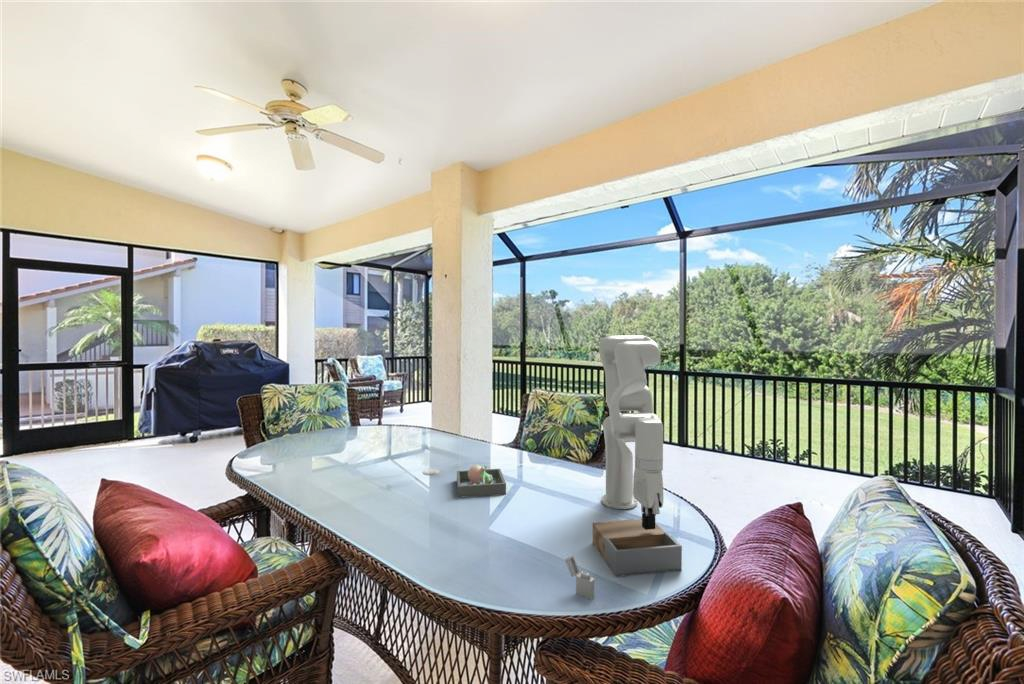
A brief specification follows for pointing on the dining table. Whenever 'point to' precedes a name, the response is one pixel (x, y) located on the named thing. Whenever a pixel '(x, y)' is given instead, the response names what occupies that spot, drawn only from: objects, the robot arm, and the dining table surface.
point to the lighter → (581, 579)
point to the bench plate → (626, 535)
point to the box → (644, 558)
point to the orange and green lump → (479, 475)
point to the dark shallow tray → (481, 488)
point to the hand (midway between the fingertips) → (648, 527)
